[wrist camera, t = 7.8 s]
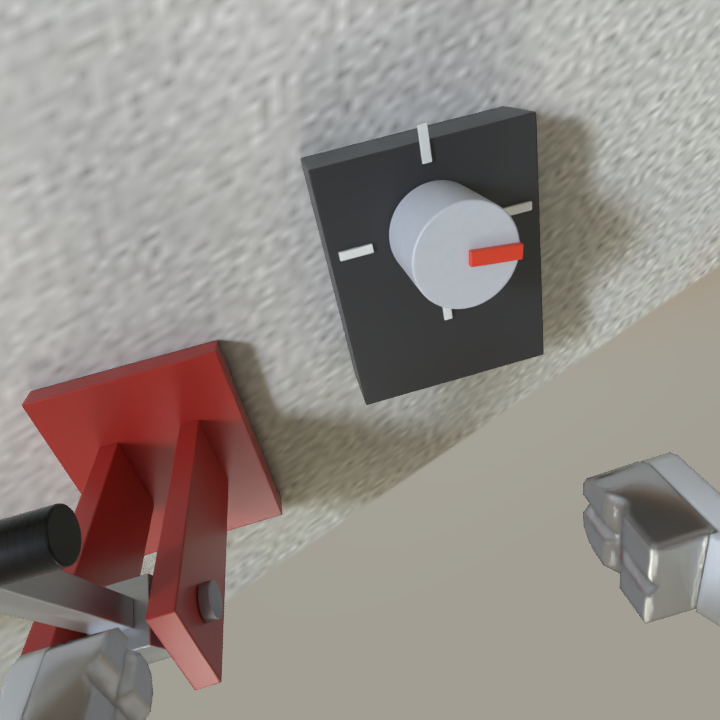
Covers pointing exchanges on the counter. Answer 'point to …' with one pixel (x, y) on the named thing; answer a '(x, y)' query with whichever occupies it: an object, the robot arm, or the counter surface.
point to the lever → (68, 582)
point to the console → (388, 279)
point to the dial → (454, 244)
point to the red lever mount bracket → (159, 490)
